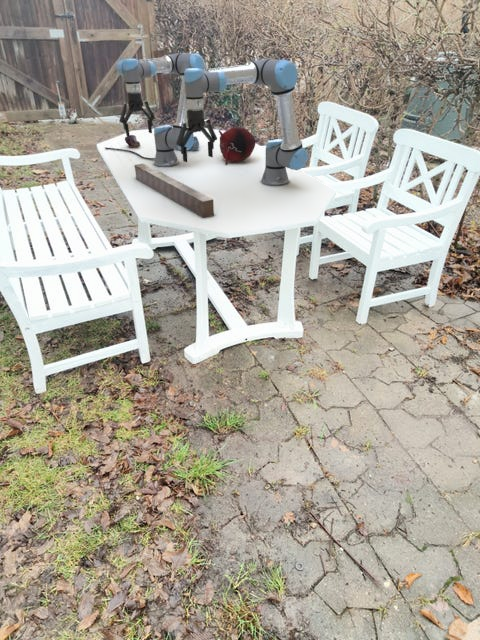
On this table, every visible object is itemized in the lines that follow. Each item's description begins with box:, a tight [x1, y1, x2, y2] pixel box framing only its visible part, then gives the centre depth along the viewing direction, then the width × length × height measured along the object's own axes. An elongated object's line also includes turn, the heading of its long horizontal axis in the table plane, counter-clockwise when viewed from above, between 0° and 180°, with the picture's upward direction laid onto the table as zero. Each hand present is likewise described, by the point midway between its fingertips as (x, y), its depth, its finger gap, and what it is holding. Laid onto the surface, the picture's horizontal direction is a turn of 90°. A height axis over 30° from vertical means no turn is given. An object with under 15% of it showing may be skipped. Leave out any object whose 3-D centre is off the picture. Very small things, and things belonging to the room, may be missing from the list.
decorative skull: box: [218, 126, 257, 166], centre depth 295 cm, size 21×24×25 cm
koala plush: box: [188, 132, 200, 152], centre depth 321 cm, size 17×18×20 cm
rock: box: [124, 134, 141, 148], centre depth 329 cm, size 12×9×10 cm
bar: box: [133, 162, 215, 219], centre depth 242 cm, size 77×6×8 cm, turn 35°
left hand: (139, 134), depth 251 cm, fingers open, 13 cm apart
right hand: (198, 159), depth 208 cm, fingers open, 13 cm apart
